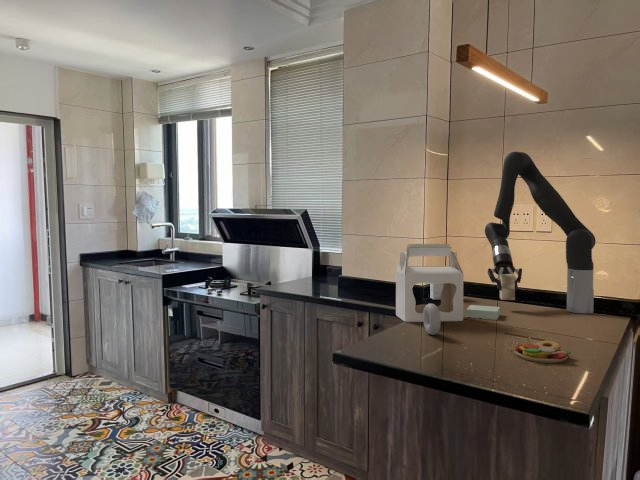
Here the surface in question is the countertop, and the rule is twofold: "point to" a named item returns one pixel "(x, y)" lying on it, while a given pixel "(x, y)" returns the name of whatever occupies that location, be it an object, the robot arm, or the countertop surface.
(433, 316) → the donut
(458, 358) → the countertop surface
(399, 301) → the gable box
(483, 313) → the base slab
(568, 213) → the robot arm
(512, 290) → the maple block
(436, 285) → the supplement box
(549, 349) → the toy food set
